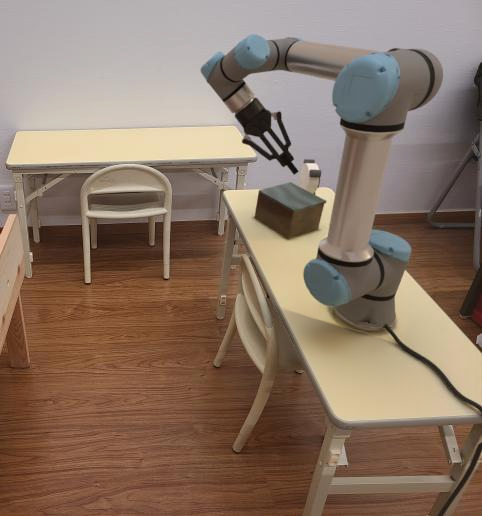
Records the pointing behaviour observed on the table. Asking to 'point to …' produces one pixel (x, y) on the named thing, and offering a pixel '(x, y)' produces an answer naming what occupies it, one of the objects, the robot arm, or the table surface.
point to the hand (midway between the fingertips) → (295, 172)
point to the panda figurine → (310, 176)
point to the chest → (287, 217)
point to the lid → (292, 197)
